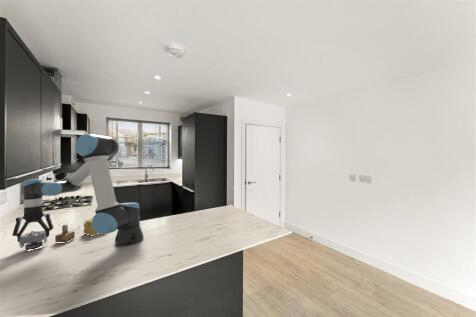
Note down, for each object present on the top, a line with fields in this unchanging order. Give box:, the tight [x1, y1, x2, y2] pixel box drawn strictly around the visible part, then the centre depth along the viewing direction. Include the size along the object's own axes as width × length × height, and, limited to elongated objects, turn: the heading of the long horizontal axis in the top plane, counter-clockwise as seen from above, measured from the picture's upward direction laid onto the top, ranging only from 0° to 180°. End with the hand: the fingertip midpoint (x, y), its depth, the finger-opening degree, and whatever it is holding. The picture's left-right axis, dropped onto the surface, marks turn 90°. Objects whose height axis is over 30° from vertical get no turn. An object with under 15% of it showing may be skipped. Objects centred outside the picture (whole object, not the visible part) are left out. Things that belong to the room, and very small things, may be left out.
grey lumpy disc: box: [18, 230, 45, 246], centre depth 112 cm, size 9×9×4 cm
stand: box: [54, 224, 76, 243], centre depth 121 cm, size 6×6×10 cm
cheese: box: [83, 217, 98, 235], centre depth 135 cm, size 10×11×10 cm
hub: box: [24, 230, 44, 250], centre depth 112 cm, size 7×7×10 cm
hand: (34, 244), depth 112 cm, fingers closed on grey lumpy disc, 9 cm apart
